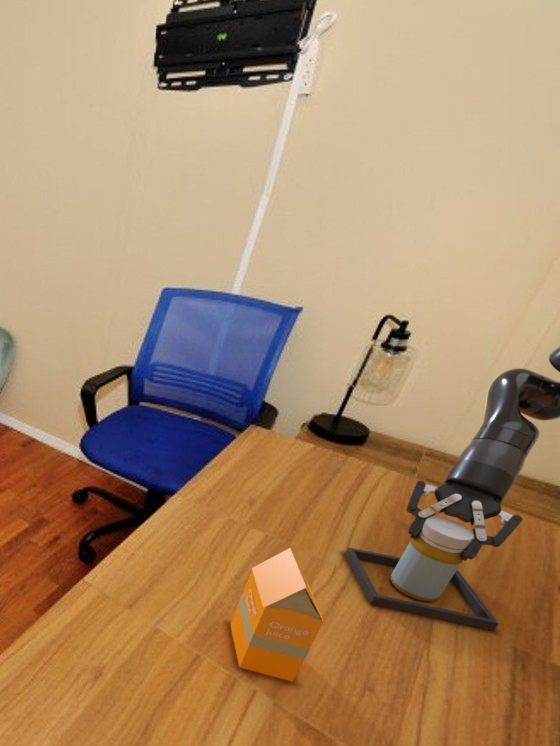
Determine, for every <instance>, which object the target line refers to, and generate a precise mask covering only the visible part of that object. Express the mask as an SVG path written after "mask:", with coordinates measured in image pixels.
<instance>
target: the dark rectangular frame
mask: <svg viewBox="0 0 560 746" xmlns="http://www.w3.org/2000/svg"><path fill="white" fill-rule="evenodd" d="M344 556H345V558H346V561H347V562H348V564H349V566H350V568H351V570H352V572H353V574H354V576H355V578H356V579H357V581H358V583H359V586H360V588H361V589H362V591H363V594H364V595H365V597H366V598H367V600H368V603H369V604H370V605H372V606H376V607H377V606H378V607H381V608H387V609H390V610H394V611H395V610H396V611H401V612H404V613H409V614H414V615H418V616H422V617H427V618H432V619H434V620H435V619H436V620H441V621H445V622H450V623H453V624H458V625H463V626H468V627H472V628H477V629H481V630H486V631H490V632H494V631H495V629H496V628H497V627H498V625H499V621H498V620H497V619H496V618H495V617H494V615H493V614H492V612H491V611H490V610H489V608H488V607H487V606H486V604H485V603H484V602H483V601H482V599H481V598H480V597H479V595H478V594H477V593H476V591H474V589H473V588H472V586H471V585H470V584H469V582H467V580H466V579H465V577H464V576H463V575H462V573H461V572H460V571H459V569H457V571H456V572H455V574H454V575H453V577H452V578H451V580H450V582H452V584H453V586H454V587H455V588H456V589H457V591H458V592H459V593H460V595H461V596H462V597H463V599H464V600H465V601H466V603H467V605H468V606H469V607H470V608H471V610H472V611H473V612H474V614H469V613H465V612H460V611H456V610H451V609H447V608H441V607H437V606H433V605H428V604H423V603H420V602H419V603H418V602H415V601H409V600H404V599H400V598H395V597H390V596H386V595H381V594H378V592H377V590H376V588H375V587H374V584H373V583H372V581H371V579H370V578H369V576H368V573H367V572H366V570H365V568H364V566H363V564H362V563H361V561H364V562H368V563H372V564H373V563H374V564H378V565H384V566H388V567H393V568H395V567H396V565H397V564H398V562H399V560H400V558H401V557H399V556H395V555H390V554H384V553H380V552H379V553H378V552H373V551H368V550H364V549H358V548H353V547H347V549H346V551H345V553H344Z"/></svg>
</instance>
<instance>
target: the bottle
mask: <svg viewBox="0 0 560 746" xmlns="http://www.w3.org/2000/svg"><path fill="white" fill-rule="evenodd" d="M473 536H474V535H473V532H472V530H471V529H469V528H468V527H467V526H465V525H463V524H462V523H460V522H457V521H455V520H453V519H449V518H446V517H442V516H441V517H440V516H433V517H430V518H428V519H427V520H426V521H425V523H424V525H423V527H422V528H421V530H420V532H419V534H418V535H417V537H416V538H415V539H413V538H410V541H409V543H407V544H408V545H407V546H406V548H405V549H404V552H403V553H402V555H401V557H400V560H399V562H398V564H397V565H396V567H394V569H393V571H392V572H391V575H390V577H389V578H390V581H391V583H392V585H393V587H395V589H396V590H398V591H399V593H401V594H403V595H404V596H407V597H408V598H411V599H414V600H417V601H421V602H432V601H437V600H438V599H440V597H441V596H442V594H443V592H444V591H445V590H446V588H447V586H448V585H449V583H450V582H451V578H452V577H453V575H454V574H455V572H456V571H457V570H459V568H460V567H461V565H462V563H463V561H464V560H462V559H460V558H461V557H462V555H463V553H464V551H465V550H466V548H467V547H468V546H469V544H470V542H471V541H472V539H474V537H473Z"/></svg>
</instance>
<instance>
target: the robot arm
mask: <svg viewBox="0 0 560 746" xmlns="http://www.w3.org/2000/svg"><path fill="white" fill-rule="evenodd" d="M547 362H548V364H549V365H550V366H551V367H552V368H553V369H554V370H556V371H557V372H558V373H560V346H558V347H557V348H555V349H554V350H553V351H552V352H551V353H550V354H548V357H547ZM484 406H485V407H484V412H483V418H482V422H481V425H480V426H479V428H478V430H477V432H476V433H475V434H474V436H473V438H472V439H471V441H470V443H468V445H467V446H466V447H465V448H464V449H463V450H462V452H461V454H459V455H460V456H459V457H458V458H457V459H456V462H455V463H454V465H453V467H452V468H451V471H450V472H449V473H448V475H447V477H446V478H445V480H444V481H443V483H441V484H440V485H438V486H434V485H430V484H426V482H425V481H424V480H418V481H417V482H416V483H415V486H414V489H413V491H412V493H411V496H410V498H409V501H408V504H407V506H406V509H405V510H406V512H407V513H408V514H411V515H412V516H413V517H414V519H413V521H412V523H411V524H410V526H409V527H408V530H407V532H408V533H407V534H409V535H410V539H412V538H413V539H415V538H416V537H417V535H418V534H419V532H420V530H421V528H422V527H423V525H424V523H425V521H426V520H427V519H428V518H430V517H437V516H438V515H440V514H442V513H443V514H444V515H446V516H449V517H451V518H457V519H458V520H460V521H461V522H464V523H467V524H468V523H470V531H471V532H472V533H473V535H474V536H473V539H472V541H471V542H470V544H469V546H468V547H467V548H466V550H465V551H464V553H463V555H462V557H461V558H460V559H462V560H463V561H465V562H466V561H467V560H474V559H475V558H476V557H477V555H478V553H479V552H480V550H481V548H482V547H483V546H492V547H494V548H498V547H501V546H502V544H503V543H505V541H506V540H507V539H508V538H509V537H510V535H511V534H512V533H513V532H514V531H515V530H516V529H517V528H518V526H519V525H520V524H521V523H522V522H523V520H524V519H523V517H522V516H521V515H518V514H515V515H513V514H511V513H509V512H507V511H504V510H502V503H503V501H504V499H505V497H506V496H507V494H508V493H509V491H510V489H511V488H512V486H513V484H514V483H515V481H516V480H517V479H518V477H519V474H520V473H521V471H522V470H523V467H524V464H525V461H526V459H527V458H528V456H529V455H530V453H531V451H532V449H533V447H534V446H535V444H536V443H537V441H538V439H539V437H540V433H541V432H540V428H539V427H538V426H537V425H535V424H534V423H533V422H532V421H530V420H529V419H528V418H526V417H525V416H527V417H529V418H532V419H534V420H538V421H552V420H557V419H560V381H557V380H555V379H553V378H550V377H549V376H545V375H543V374H540V373H538V372H535V371H533V370H531V369H526V368H521V367H520V368H519V367H517V368H516V367H515V368H511V369H508V370H505V371H503V372H502V373H500V374H498V375H497V376H496V377H495V378H494V379H493V380H492V382H491V383H490V385H489V387H488V389H487V393H486V398H485V405H484ZM524 415H525V416H524ZM430 494H434V497H435V499H436V501H437V502H436V503H433V504H431V505H430V506H429V507H427V508H424V509H420V508H419V506H418V505H419V504H420V503H419V502H420V501H421V498H422V496H423V497H427V496H429V495H430ZM495 517H498V518H499V522H498V523H499V524H500V525H501V526H502V527H501V528H500V530H499V531H498V532H497V533H496V534H495V535H494V536H491V535H487V531H486V522H485V520H488V519H491V518H495Z"/></svg>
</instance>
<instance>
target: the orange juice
mask: <svg viewBox="0 0 560 746" xmlns="http://www.w3.org/2000/svg"><path fill="white" fill-rule="evenodd" d="M324 621H325V620H324V619H323V616H322V614H321V611H320V609H319V606H318V604H317V601H316V599H315V597H314V594H313V592H312V590H311V587H310V585H309V582H308V580H307V578H305V575H304V574H303V572H302V570H301V568H300V566H299V563H298V562H297V561H296V559H295V556H294V553H293V551H292V549H291V547H289V548H287V549H285V550H283V551H281V552H279V553H278V554H276V555H274V556H272V557H269V558H268V559H266V560H264V561H263V562H261V563H259V564H257V565H255V566H253V567H251V571H250V574H249V577H248V579H247V582H246V584H245V587H244V590H243V592H242V594H241V596H240V599H239V601H238V605H237V607H236V610H235V613H234V615H233V618H232V620H231V622H230V630H231V635H232V640H233V644H234V648H235V653H236V654H235V655H236V658H237V662H238V667H239V669H243V670H248V671H251V672H255V673H258V674H261V675H267V676H269V677H274V678H277V679H281V680H285V681H288V682H294V681H295V678H296V677H297V674H298V673H299V670H300V668H301V666H302V664H303V662H304V661H305V659H306V658H307V656H308V654H309V652H310V650H311V647H312V645H313V643H314V641H315V639H316V637H317V636H318V633H319V631H320V630H321V628H322V625H323V624H324Z"/></svg>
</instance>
